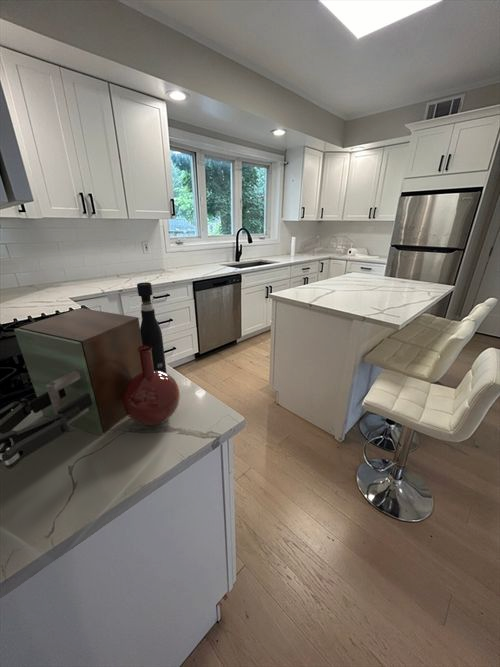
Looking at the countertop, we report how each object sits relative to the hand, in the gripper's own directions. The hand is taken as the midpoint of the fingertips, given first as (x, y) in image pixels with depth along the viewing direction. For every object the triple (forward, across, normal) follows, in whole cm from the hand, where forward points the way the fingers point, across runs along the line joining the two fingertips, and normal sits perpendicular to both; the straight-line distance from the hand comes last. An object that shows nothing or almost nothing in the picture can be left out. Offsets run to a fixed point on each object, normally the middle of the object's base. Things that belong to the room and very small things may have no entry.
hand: (76, 394), depth 59 cm
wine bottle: (+28, +4, +12) cm, 31 cm away
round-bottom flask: (+11, -10, +12) cm, 19 cm away
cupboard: (+10, +8, +12) cm, 18 cm away
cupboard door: (-1, +7, +12) cm, 14 cm away
